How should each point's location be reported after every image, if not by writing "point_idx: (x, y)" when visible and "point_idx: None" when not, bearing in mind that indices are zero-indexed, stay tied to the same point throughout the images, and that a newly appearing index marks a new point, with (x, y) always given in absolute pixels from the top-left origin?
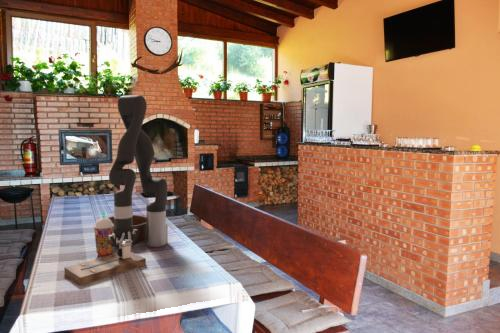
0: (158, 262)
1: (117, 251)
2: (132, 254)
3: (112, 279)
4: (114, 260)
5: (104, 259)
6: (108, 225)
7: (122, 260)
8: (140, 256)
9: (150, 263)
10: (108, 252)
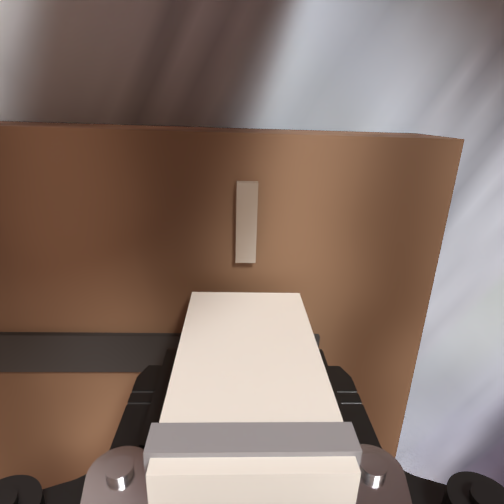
0: (473, 450)
1: (126, 427)
2: (383, 322)
3: None
4: (101, 364)
5: (12, 233)
6: None
7: None
8: (394, 428)
9: (417, 428)
10: None
